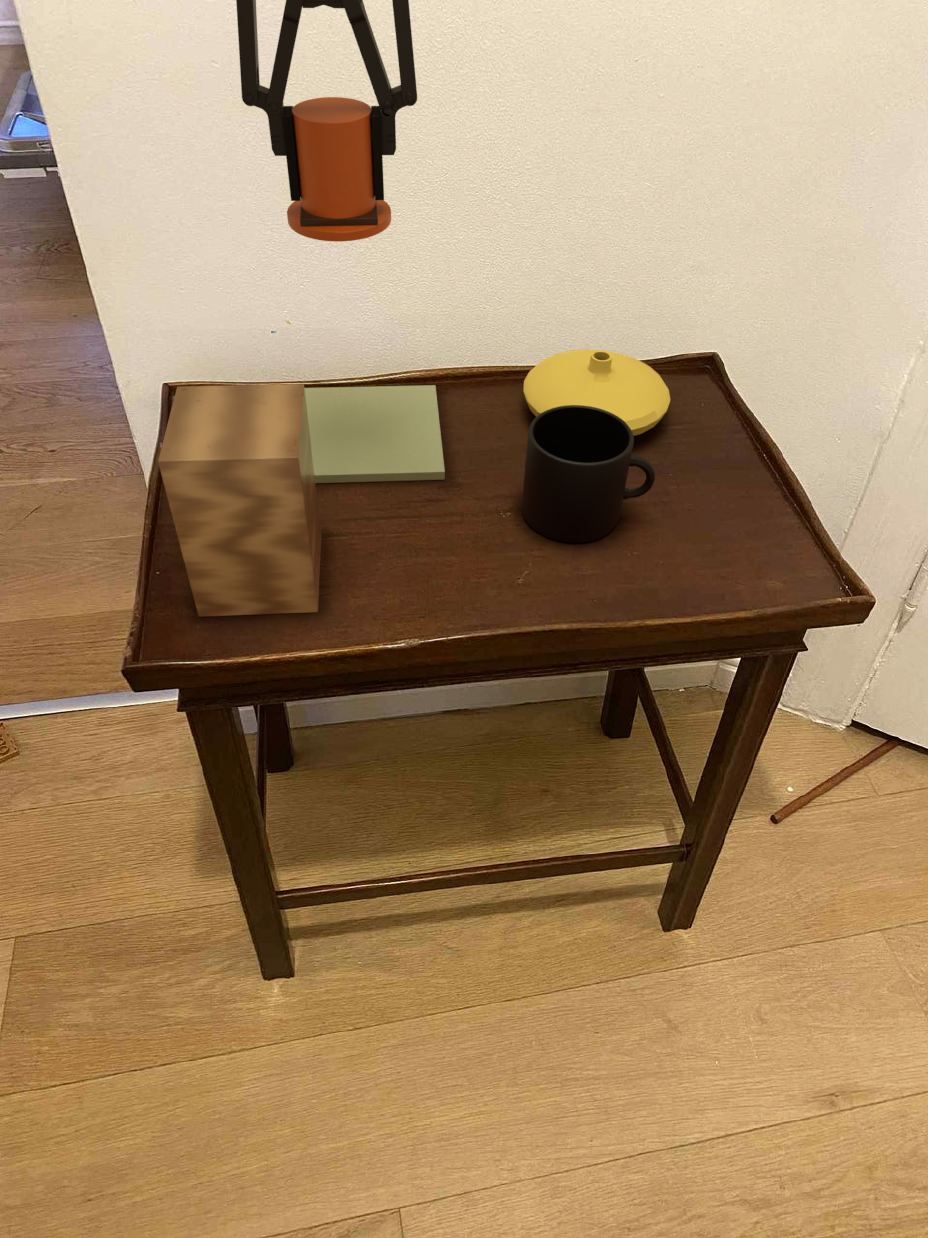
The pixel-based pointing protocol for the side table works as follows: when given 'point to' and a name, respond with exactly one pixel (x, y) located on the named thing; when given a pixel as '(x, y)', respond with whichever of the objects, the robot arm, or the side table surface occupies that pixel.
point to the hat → (335, 172)
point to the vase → (599, 386)
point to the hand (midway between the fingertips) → (337, 193)
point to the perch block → (244, 498)
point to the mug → (579, 472)
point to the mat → (375, 433)
